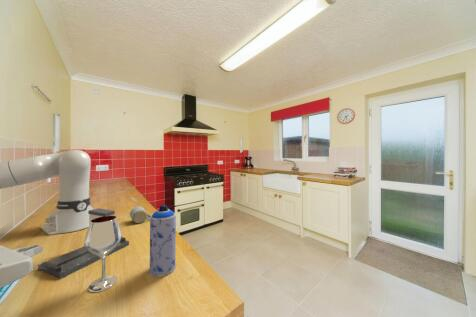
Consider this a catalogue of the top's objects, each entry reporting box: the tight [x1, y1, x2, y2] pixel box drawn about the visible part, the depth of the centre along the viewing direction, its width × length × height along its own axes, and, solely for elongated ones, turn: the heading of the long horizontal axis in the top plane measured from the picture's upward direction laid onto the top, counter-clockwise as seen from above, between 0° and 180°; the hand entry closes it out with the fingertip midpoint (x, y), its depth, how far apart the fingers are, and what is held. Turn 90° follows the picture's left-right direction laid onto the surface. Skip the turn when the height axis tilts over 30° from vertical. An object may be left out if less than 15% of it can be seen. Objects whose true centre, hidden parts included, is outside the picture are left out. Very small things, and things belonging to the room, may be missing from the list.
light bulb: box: [129, 205, 152, 224], centre depth 95 cm, size 11×8×8 cm
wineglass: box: [83, 215, 123, 293], centre depth 48 cm, size 8×8×18 cm
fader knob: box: [88, 207, 116, 224], centre depth 65 cm, size 9×3×13 cm, turn 70°
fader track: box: [37, 236, 130, 280], centre depth 61 cm, size 12×21×2 cm, turn 160°
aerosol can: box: [148, 204, 177, 278], centre depth 54 cm, size 8×8×20 cm
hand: (39, 247), depth 49 cm, fingers closed
